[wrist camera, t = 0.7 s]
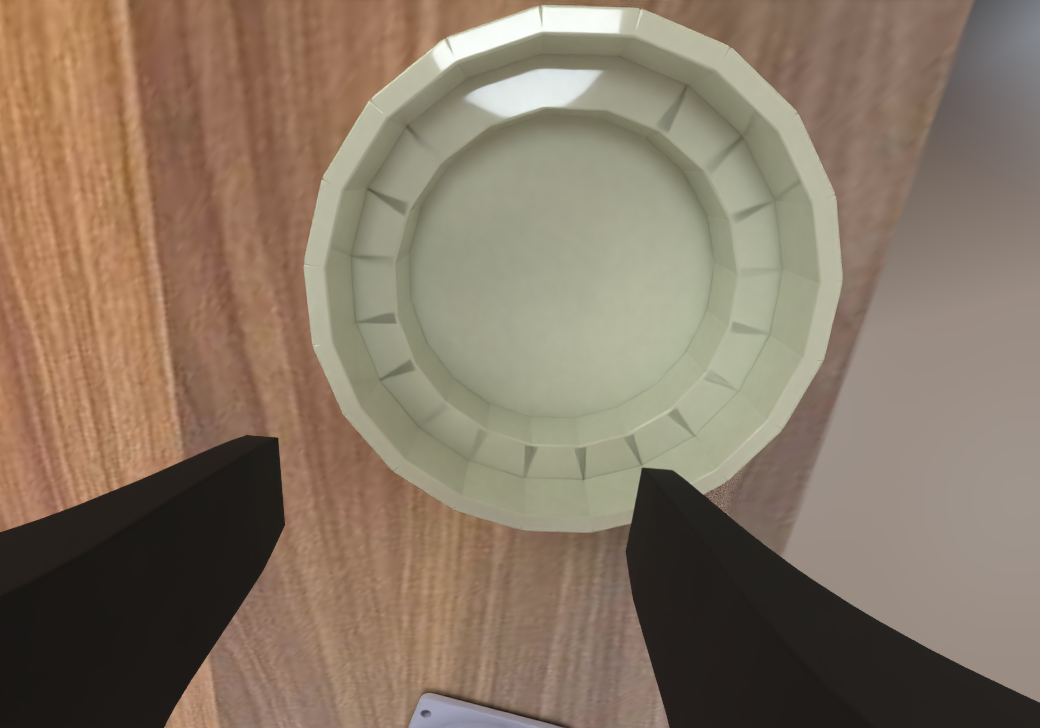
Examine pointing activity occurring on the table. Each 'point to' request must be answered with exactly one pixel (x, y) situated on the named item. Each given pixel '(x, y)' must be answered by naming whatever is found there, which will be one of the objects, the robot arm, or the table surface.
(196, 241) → the table surface
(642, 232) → the bowl
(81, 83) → the table surface
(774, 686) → the robot arm
